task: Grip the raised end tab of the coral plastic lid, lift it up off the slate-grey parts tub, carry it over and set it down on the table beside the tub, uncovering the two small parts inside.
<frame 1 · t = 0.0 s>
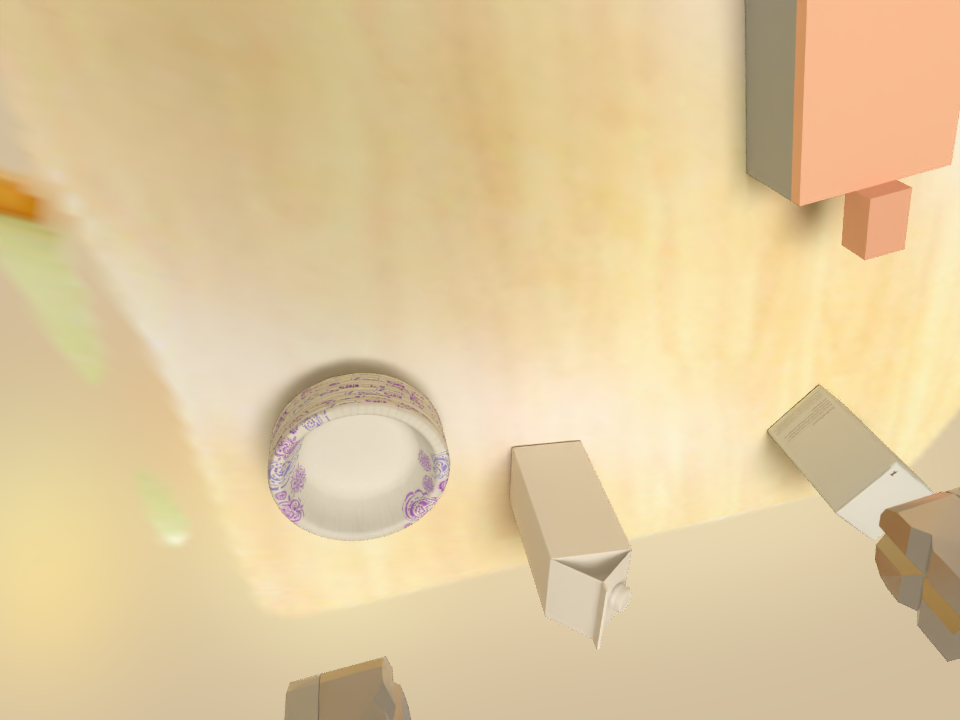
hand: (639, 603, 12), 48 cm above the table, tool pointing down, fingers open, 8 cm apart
tub: (818, 55, 57), on the table
milk carton: (543, 468, 75), on the table
lid: (875, 72, 51), point 7 cm above the table, touching tub
paper bowls: (358, 421, 68), on the table
supplement box: (809, 421, 78), on the table
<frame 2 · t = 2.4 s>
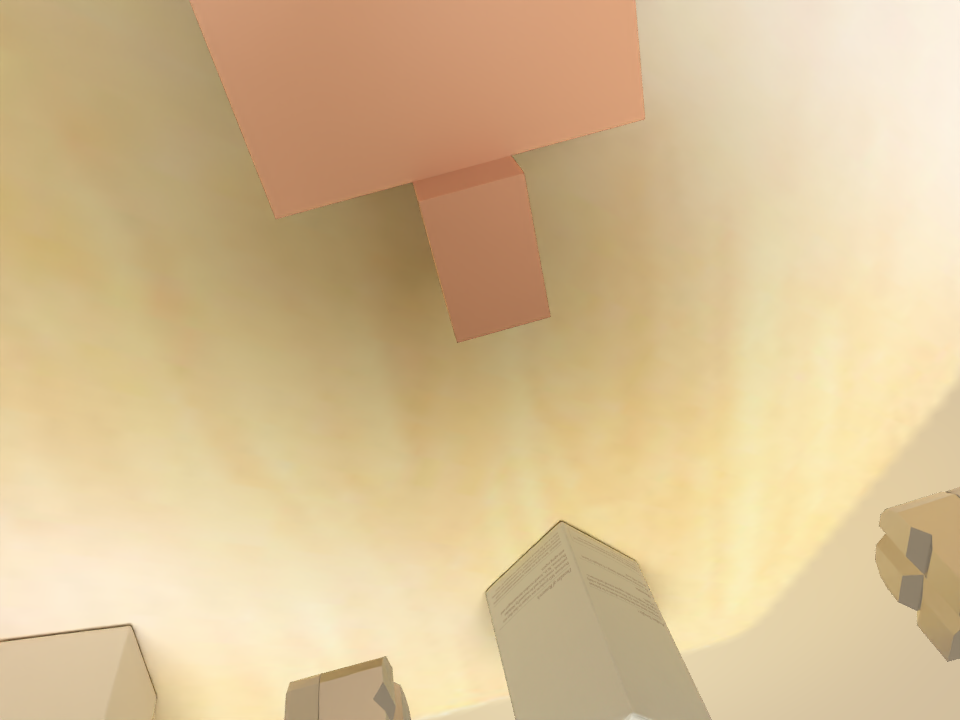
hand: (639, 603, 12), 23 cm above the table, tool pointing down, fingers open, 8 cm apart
milk carton: (83, 666, 43), on the table
supplement box: (561, 573, 46), on the table
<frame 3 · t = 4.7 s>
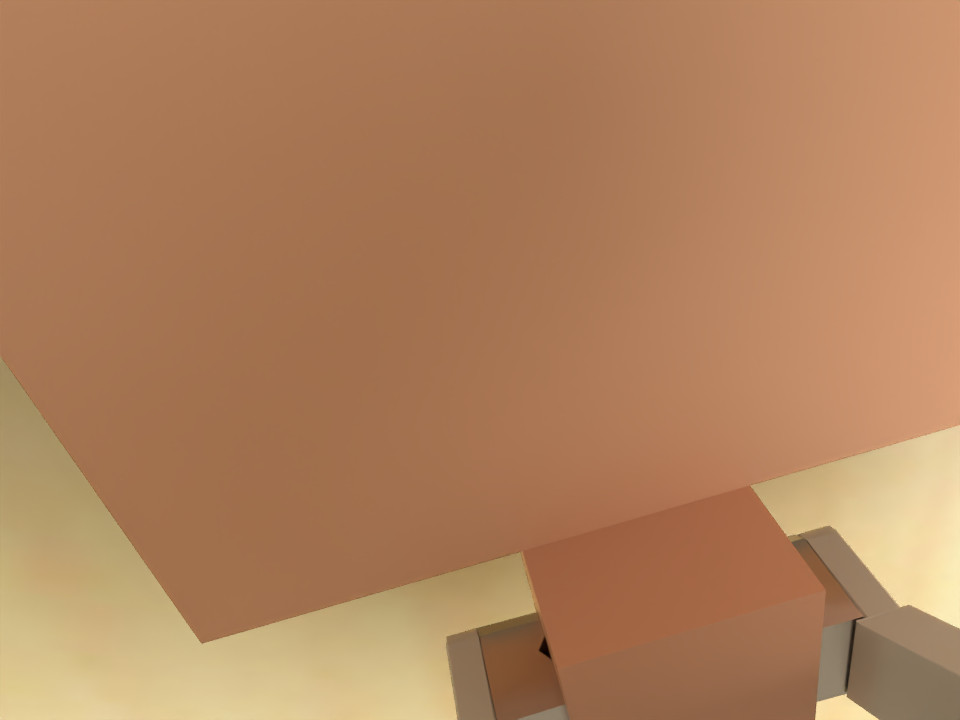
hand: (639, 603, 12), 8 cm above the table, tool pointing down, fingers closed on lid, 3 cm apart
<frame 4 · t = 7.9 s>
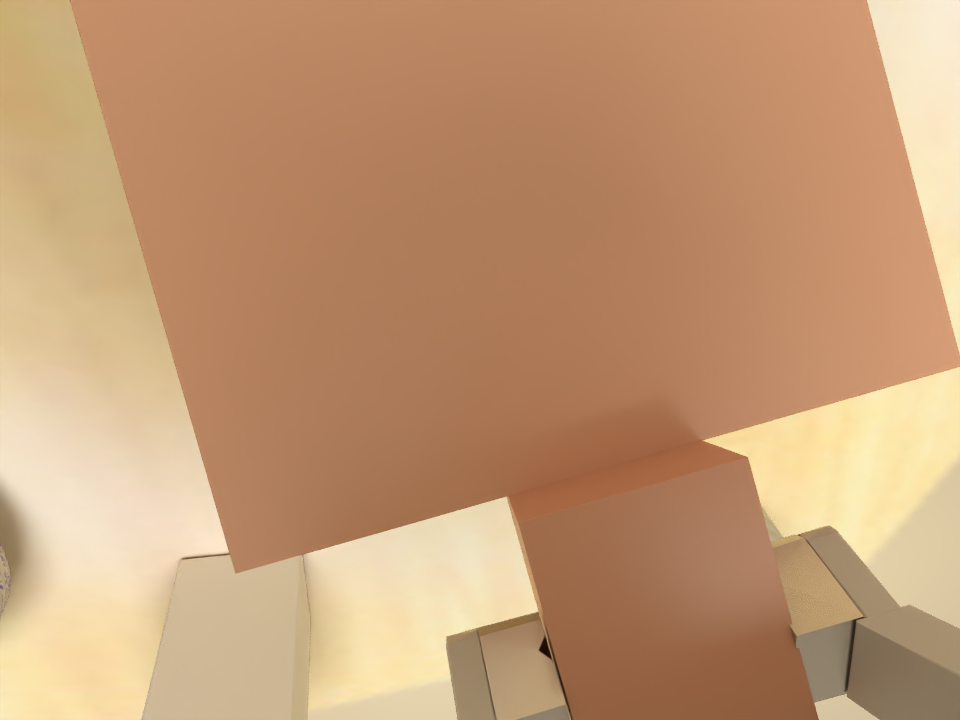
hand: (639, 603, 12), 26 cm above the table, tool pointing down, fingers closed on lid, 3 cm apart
milk carton: (249, 588, 46), on the table
lid: (467, 10, 12), point 20 cm above the table, tilted 31°, touching gripper
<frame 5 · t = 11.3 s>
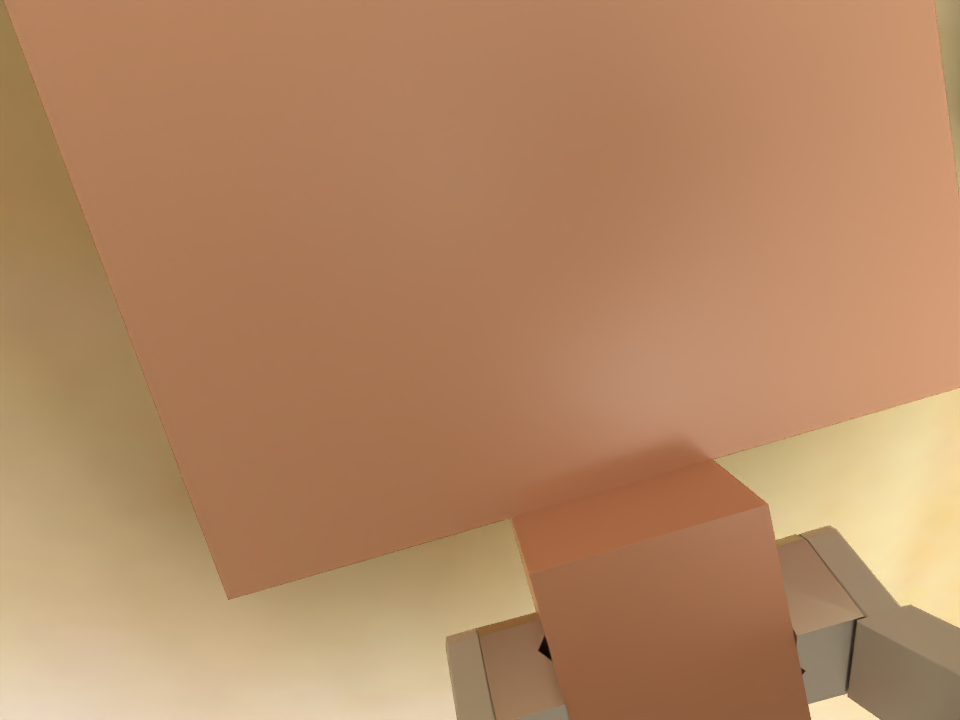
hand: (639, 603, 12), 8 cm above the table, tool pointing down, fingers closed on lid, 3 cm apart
when the fingers open (5 cm above the table, at t = 12.2 s): lid drops 2 cm, on the table.
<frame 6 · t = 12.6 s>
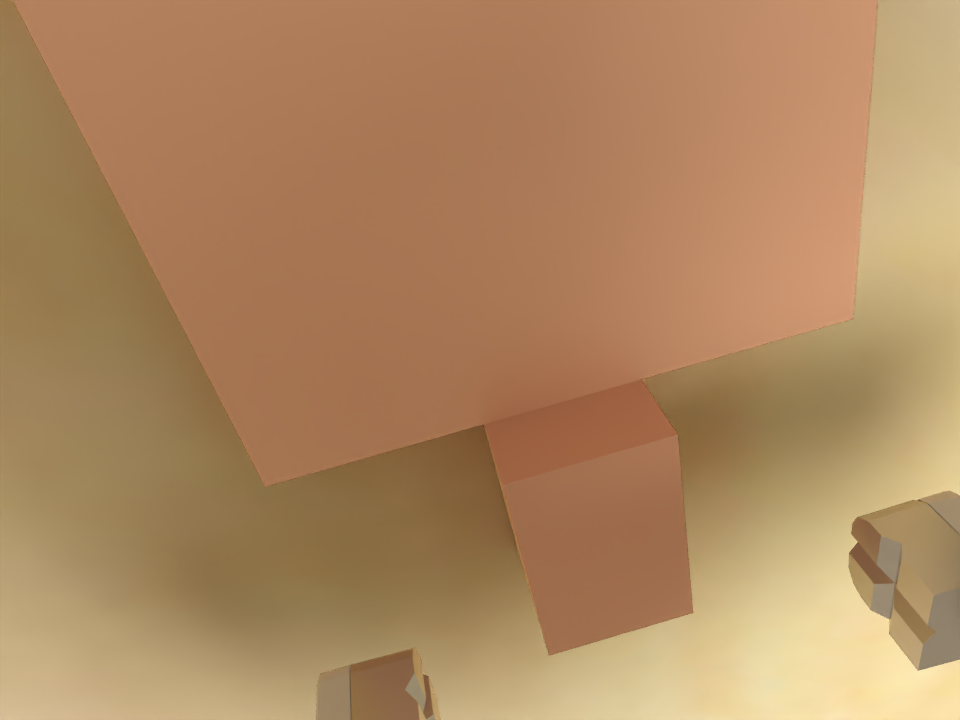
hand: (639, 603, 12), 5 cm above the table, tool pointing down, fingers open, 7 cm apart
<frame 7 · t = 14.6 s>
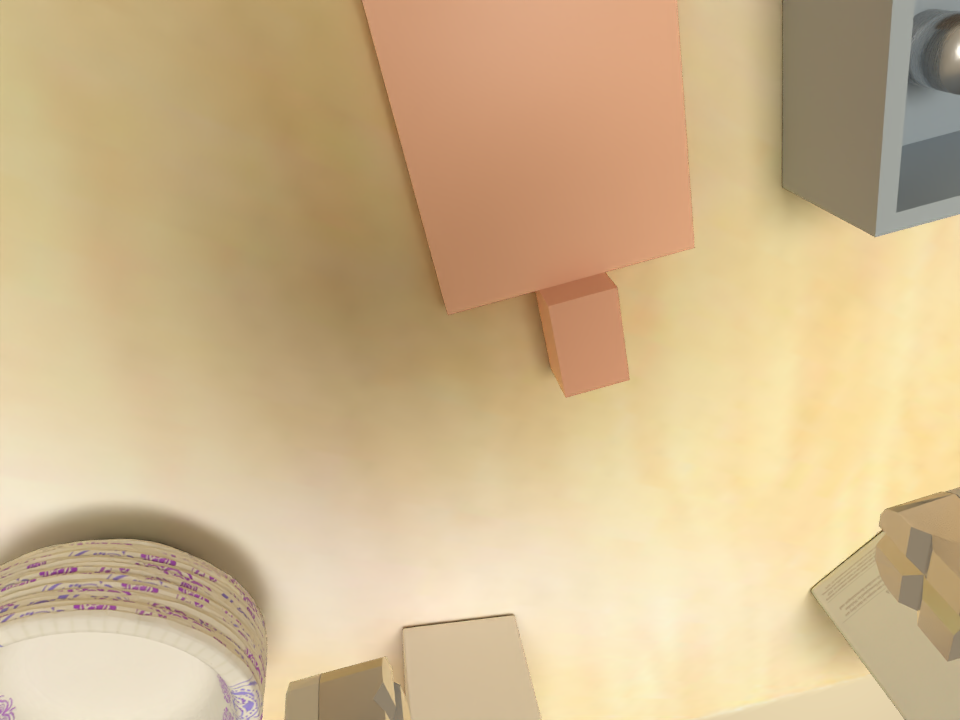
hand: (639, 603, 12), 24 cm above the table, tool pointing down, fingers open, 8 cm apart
milk carton: (458, 654, 47), on the table
lid: (535, 102, 31), on the table
metal knob: (923, 47, 32), point 1 cm above the table, touching tub
paper bowls: (133, 598, 41), on the table
supplement box: (874, 574, 50), on the table
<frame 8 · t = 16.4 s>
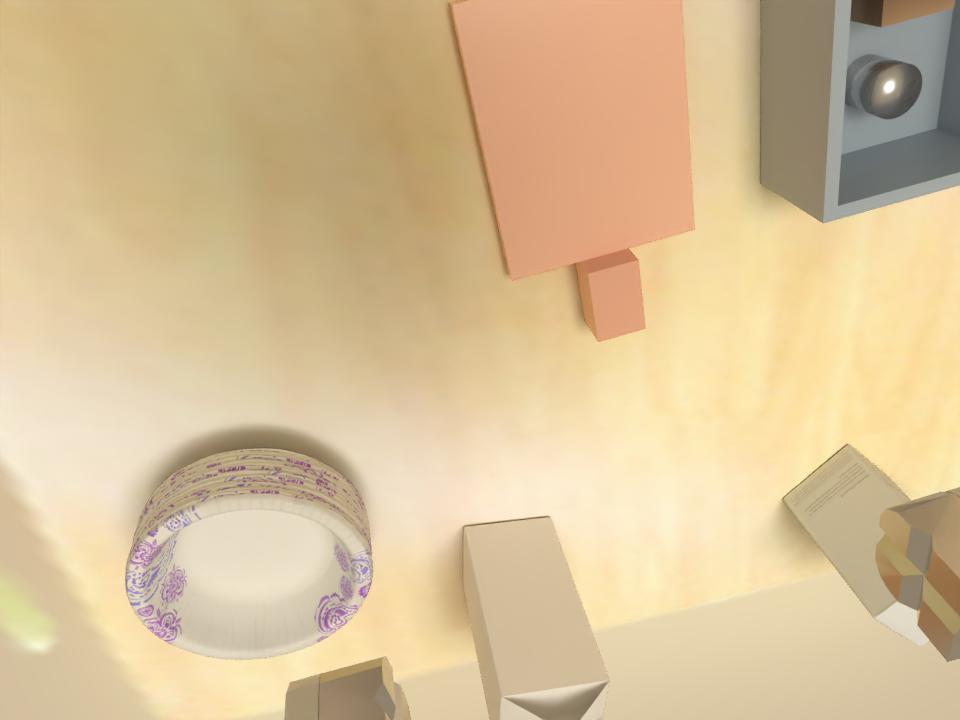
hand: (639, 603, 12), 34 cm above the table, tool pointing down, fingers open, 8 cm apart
tub: (859, 25, 42), on the table
milk carton: (504, 549, 60), on the table
lid: (580, 124, 42), on the table
metal knob: (863, 81, 43), point 1 cm above the table, touching tub
paper bowls: (262, 500, 53), on the table
supplement box: (834, 486, 63), on the table
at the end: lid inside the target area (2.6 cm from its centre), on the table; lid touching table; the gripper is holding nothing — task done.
